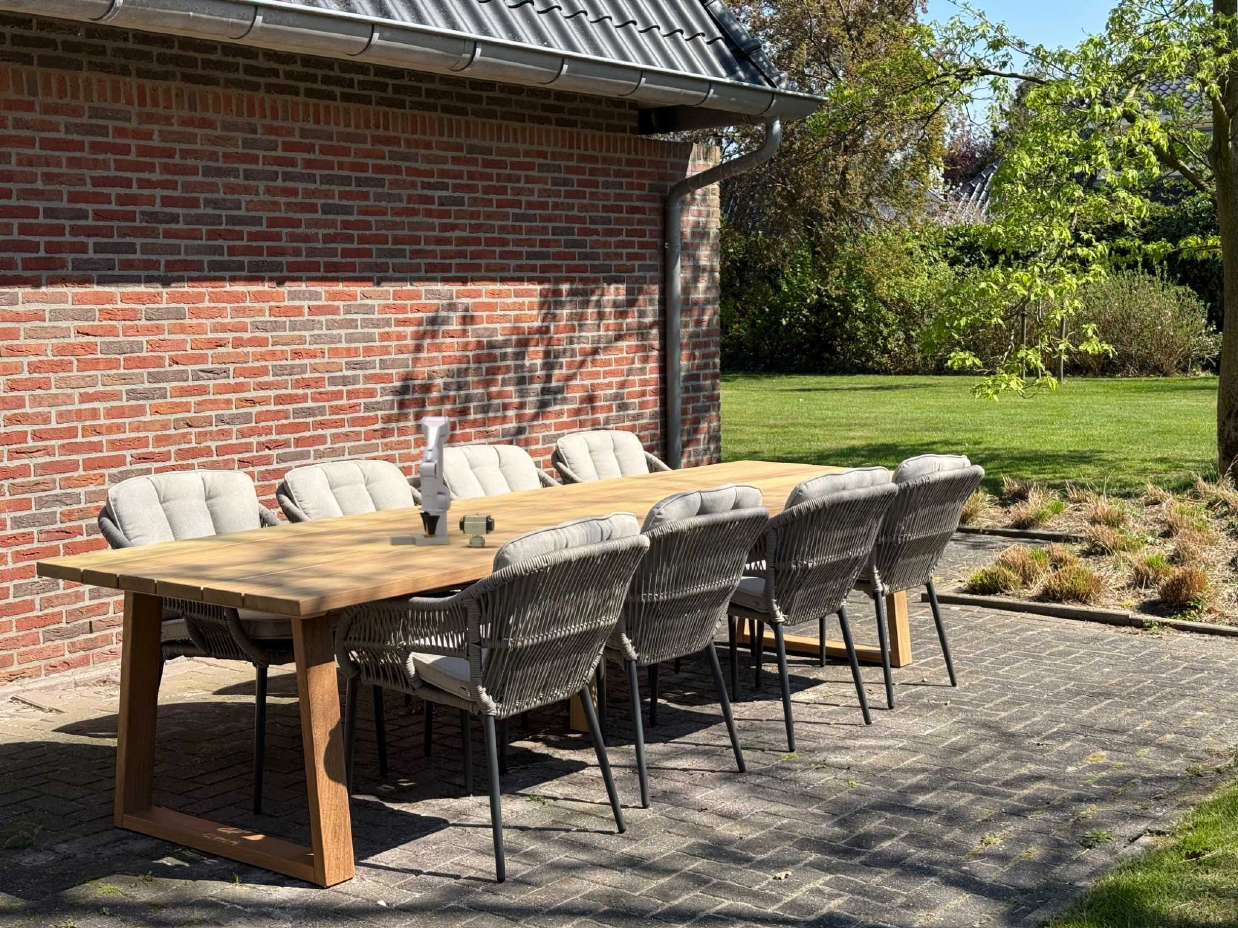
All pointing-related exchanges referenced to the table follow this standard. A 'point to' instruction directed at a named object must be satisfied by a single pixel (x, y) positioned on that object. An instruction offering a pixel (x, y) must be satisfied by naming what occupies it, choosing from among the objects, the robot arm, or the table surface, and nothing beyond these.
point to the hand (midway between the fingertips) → (429, 533)
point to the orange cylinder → (427, 532)
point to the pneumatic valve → (476, 527)
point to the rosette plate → (421, 539)
